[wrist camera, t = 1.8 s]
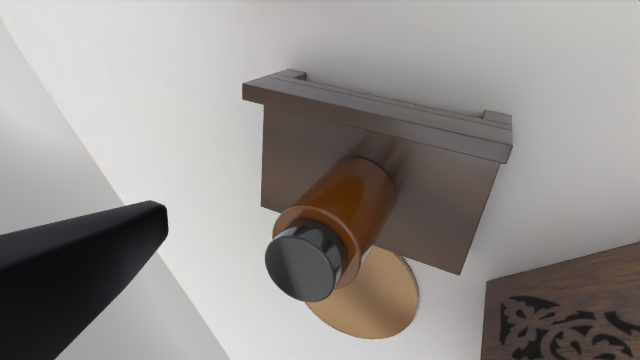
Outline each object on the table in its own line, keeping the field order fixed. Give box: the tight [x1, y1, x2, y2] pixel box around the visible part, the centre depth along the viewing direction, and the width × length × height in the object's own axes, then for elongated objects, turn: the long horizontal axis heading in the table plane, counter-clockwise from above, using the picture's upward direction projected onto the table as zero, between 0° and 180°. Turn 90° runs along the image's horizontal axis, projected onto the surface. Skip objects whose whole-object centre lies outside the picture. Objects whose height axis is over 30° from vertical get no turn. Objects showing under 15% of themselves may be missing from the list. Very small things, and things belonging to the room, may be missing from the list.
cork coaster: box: [305, 246, 418, 339], centre depth 26 cm, size 9×9×1 cm
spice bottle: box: [265, 158, 396, 303], centre depth 17 cm, size 4×4×7 cm
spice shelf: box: [242, 69, 513, 275], centre depth 20 cm, size 8×12×4 cm, turn 83°
